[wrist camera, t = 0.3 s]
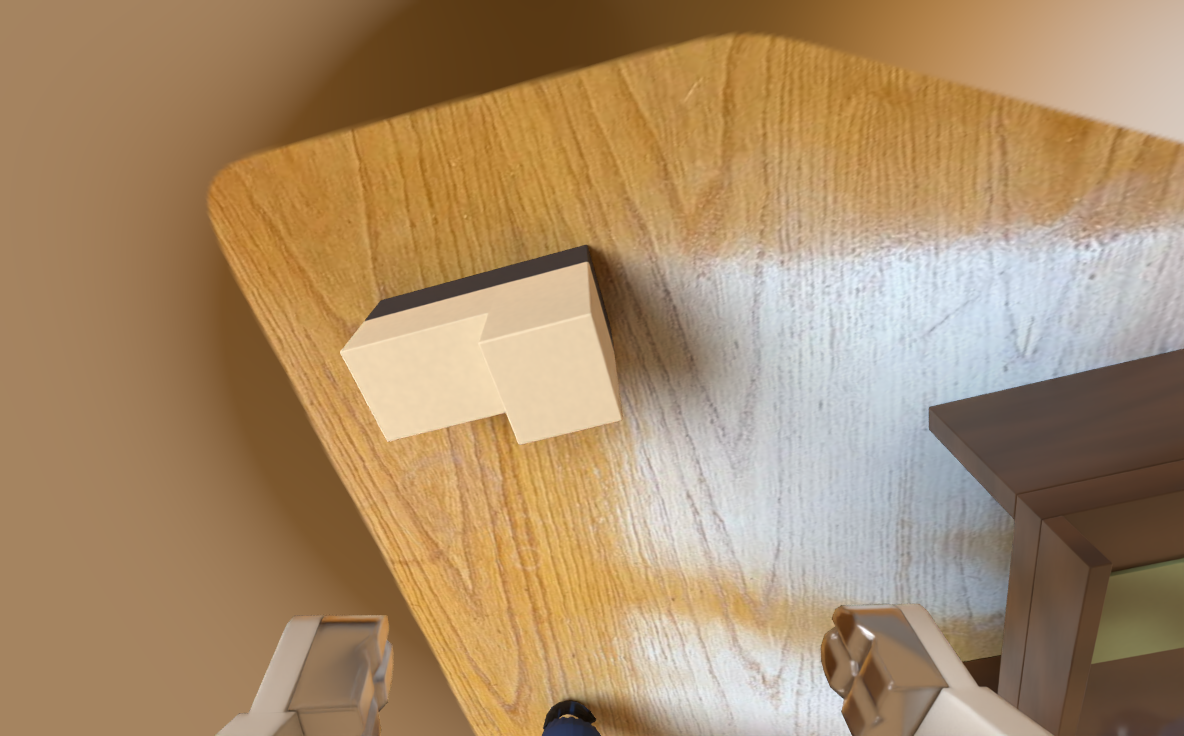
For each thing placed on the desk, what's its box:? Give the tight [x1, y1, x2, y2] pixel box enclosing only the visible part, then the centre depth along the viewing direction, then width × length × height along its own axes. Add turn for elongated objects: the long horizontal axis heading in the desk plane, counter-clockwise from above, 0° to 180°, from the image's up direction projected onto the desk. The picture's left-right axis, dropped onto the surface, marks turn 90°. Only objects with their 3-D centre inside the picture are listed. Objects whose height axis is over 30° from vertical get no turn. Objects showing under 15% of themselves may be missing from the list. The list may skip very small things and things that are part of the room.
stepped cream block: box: [340, 245, 623, 445], centre depth 24 cm, size 4×10×8 cm, turn 105°
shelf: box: [929, 349, 1184, 736], centre depth 31 cm, size 24×14×11 cm, turn 15°
